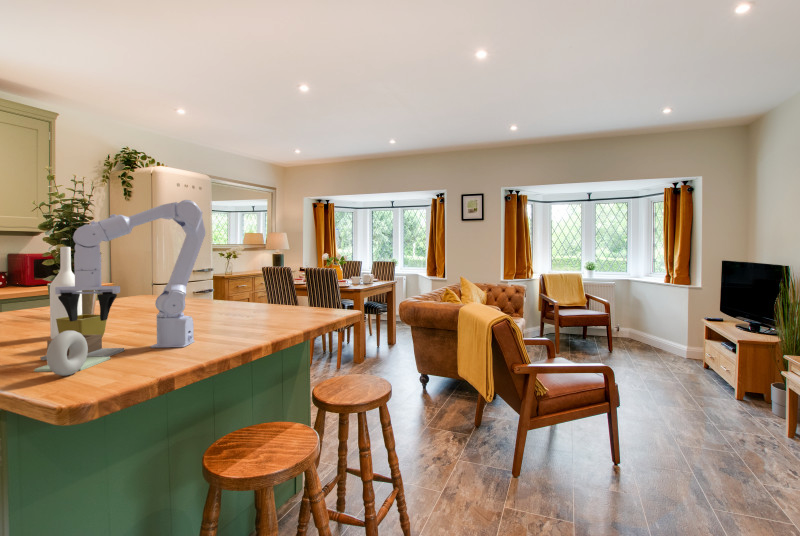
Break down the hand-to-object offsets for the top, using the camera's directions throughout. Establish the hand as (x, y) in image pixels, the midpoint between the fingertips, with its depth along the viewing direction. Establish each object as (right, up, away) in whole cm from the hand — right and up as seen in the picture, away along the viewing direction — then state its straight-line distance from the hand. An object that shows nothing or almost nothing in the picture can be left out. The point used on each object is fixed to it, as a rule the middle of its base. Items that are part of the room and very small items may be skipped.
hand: (88, 320), depth 108 cm
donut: (+10, -10, -18) cm, 23 cm away
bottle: (-25, -9, +23) cm, 36 cm away
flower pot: (-10, -9, +11) cm, 18 cm away
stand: (-1, -9, 0) cm, 9 cm away
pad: (+4, -10, -10) cm, 14 cm away
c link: (-3, -9, 0) cm, 9 cm away
